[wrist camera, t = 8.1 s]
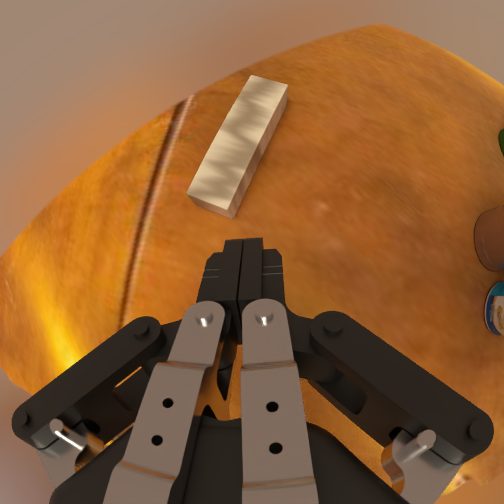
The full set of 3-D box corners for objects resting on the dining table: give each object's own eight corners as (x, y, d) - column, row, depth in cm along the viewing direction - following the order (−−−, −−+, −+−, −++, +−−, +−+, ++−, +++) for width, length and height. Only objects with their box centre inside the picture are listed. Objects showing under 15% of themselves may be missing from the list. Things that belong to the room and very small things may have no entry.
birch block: (233, 220, 35) (286, 106, 36) (227, 209, 30) (287, 85, 31) (197, 205, 35) (253, 96, 37) (186, 193, 30) (251, 75, 32)
